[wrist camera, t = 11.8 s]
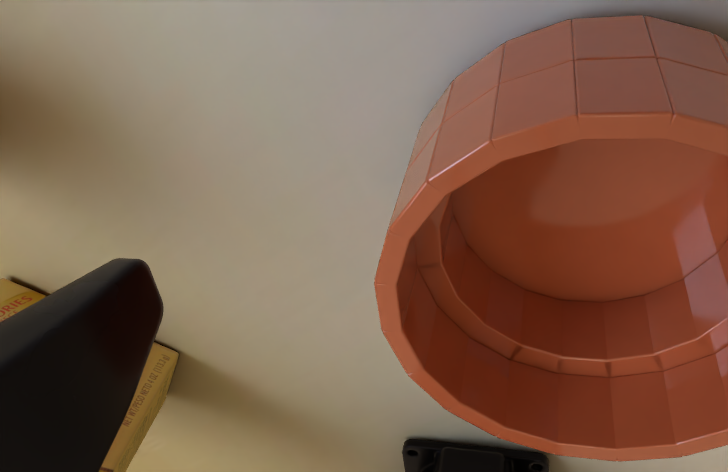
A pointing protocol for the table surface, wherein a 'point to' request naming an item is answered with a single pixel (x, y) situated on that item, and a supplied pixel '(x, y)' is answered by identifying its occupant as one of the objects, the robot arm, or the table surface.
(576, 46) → the bowl
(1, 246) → the table surface
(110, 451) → the candy box
